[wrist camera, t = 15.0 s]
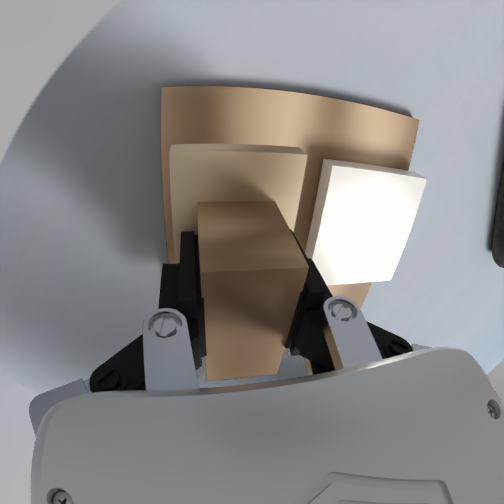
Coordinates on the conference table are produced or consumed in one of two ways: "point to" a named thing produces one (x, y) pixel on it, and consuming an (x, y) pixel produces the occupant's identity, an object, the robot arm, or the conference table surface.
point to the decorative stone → (499, 226)
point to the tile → (361, 220)
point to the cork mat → (285, 139)
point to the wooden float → (242, 248)
